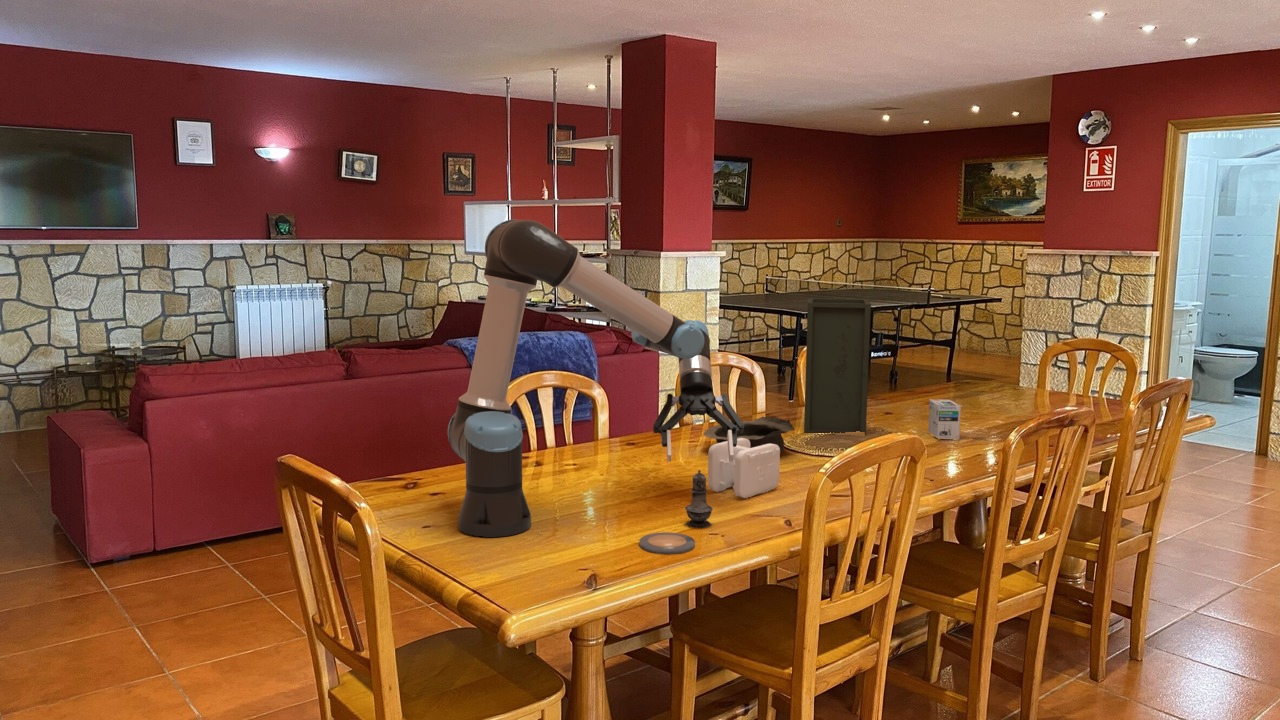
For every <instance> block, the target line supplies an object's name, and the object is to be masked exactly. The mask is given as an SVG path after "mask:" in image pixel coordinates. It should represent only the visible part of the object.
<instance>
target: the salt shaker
mask: <svg viewBox="0 0 1280 720" xmlns="http://www.w3.org/2000/svg"><path fill="white" fill-rule="evenodd" d="M708 491H709V490H708V489H707V476H706V475H705V474H704V473H702V470H700V469H698V471H697V473H695V474H694V475H692V488H691V489H690V492H691V502H690V504H689V505H686V506H685V507H684V509H685V510H686V515H687V517H688V518H689V519H690V520H688V521H687V522H686V523H685V525H686V526H687V527H689V528H692V529H706V528H710V527H711V526H712V523H711V522H710V521H708V519H709V518H710V517H711V515H712V511H713V510H714V508H713V507H712V506H711V505H708V502H707V493H708ZM709 526H710V527H709Z"/></svg>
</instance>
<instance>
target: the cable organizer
mask: <svg viewBox="0 0 1280 720" xmlns="http://www.w3.org/2000/svg"><path fill="white" fill-rule="evenodd" d="M733 453H734V456H733V461H729V454H728V441H726V442H721V443H717V442H716V443H714V444H711V446H710V447H709V449H708V451H707V461H708V462H707V486H708V488H709V490H712V491H714V492H715V493H719V491H720V492H722V491H725V490H726V489H727V488H731V487H732V489H733V492H734V495H736V496H737V497H740V498H741V499H744V500H746V499H749V498H748V497H750V498H752V497H751V496H753V497H754V496H755V495H759V494H762V493H763V494H766V493H769V492H771V490H774V489H776V488H777V487H778V485H779V481H780V458H781V457H780V456H781V453H780V448H779V446H778V445H775V444H770V443H769V444H765V445H761V446H757V447H753V448H750V441H749V440H748V439H745V438H738V439H737V446H736V447H733ZM768 491H769V492H768ZM765 492H766V493H765ZM745 498H746V499H745Z"/></svg>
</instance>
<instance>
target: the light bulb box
mask: <svg viewBox="0 0 1280 720" xmlns="http://www.w3.org/2000/svg"><path fill="white" fill-rule="evenodd" d="M928 403H929V404H928V405H929V406H928V407H929V409H928V429H927V431H929V432H930V433H931V434H933V435H934V436H935V437H936V438H942V439H959V440H960V436H961V435H960V434H961V433H960V432H961V430H960V428H961V411H962V410H961V409H962V406H961V405H960V404H958V403H956V402H955V401H953V400H951V399H940V398H939V399H935V398H934V399H933V398H929V402H928Z"/></svg>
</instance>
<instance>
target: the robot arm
mask: <svg viewBox="0 0 1280 720" xmlns="http://www.w3.org/2000/svg"><path fill="white" fill-rule="evenodd" d="M484 242H485V243H484V254H485V257H486V263H485V267H484V272H483V277H484V279H485V280H486V282H487V284H488V287H487V292H486V298H485V302H484V307H483V312H482V316H481V317H482V319H481V322H480V326H479V332H478V338H477V341H476V342H477V343H476V347H475V353H474V357H473V362H472V367H471V372H470V377H469V382H468V387H467V391H466V392H465V393H463V394H462V395H461V396H459V397H458V401H457V406H456V411H455V412H454V414H453V415H452V417H451V418H450V419H449V423H448V426H447V437H448V439H447V440H448V443H449V445H450V448H451V449H452V451H454V453H455V454H456V455H457V456H458V457H459V458H461V459H462V460H463V461H464V462H465V487H466V488H465V495H464V497H463V501H462V504H461V507H460V510H459V514H458V519H457V522H458V524H457V526H458V531H460V532H461V531H462V532H461V533H463V532H464V533H463V534H465V533H466V534H465V535H468V534H469V536H472V535H474V536H473V537H479V536H483V537H482V538H498V537H499V538H500V537H507V536H509V537H510V536H514V535H518V534H521V533H523V532H526V531H527V530H529V529H530V528H531V527H532V514H531V511H530V508H529V504H528V502H527V498H526V496H525V493H524V490H523V439H524V435H523V428H522V423H521V421H520V419H519V418H518V417H517V416H515V414H512V413H511V411H512V407H511V405H510V404H509V402H508V401H507V395H508V390H509V385H510V381H511V376H512V371H513V368H514V367H513V366H514V361H515V356H516V351H517V347H518V341H519V338H520V331H521V326H522V323H523V322H522V321H523V317H524V312H525V308H526V303H527V299H528V298H527V297H528V294H529V292H531V291H533V290H534V289H535V288H536V287H537V283H538V280H539V281H541V282H542V283H545V284H547V285H549V286H551V287H552V288H554V289H556V288H560V287H561V288H563V289H564V290H566V291H568V292H570V293H571V294H573V295H574V296H576V297H577V298H579V299H581V300H583V301H584V302H586V303H588V304H589V305H591V306H592V307H594V308H596V309H598V310H599V311H601V312H602V313H604V314H606V315H608V316H609V317H611V318H612V319H614V320H616V321H617V322H618V323H621V324H622V325H624V326H625V327H628V328H629V329H630V330H631V334H630V335H631V339H632V341H633V342H634V343H636V344H638V345H641V346H642V347H646V348H649V349H652V350H655V351H658V352H661V353H664V354H668V355H670V356H673V357H676V358H677V359H678V373H679V375H678V376H679V396H676V395H675V396H674V395H673V394H672V393H668V394H667V397H666V402H665V404H664V406H663V408H662V409H661V410H660V412H659V414H658V416H657V418H656V420H655V421H654V423H653V428H652V431H653V433H654V434H660V436H661V446H662V448H666V457H667V458H666V460H667V462H671V463H672V442H671V441H672V440H671V439H672V438H671V434H672V433H671V431H672V430H673V429H674V428H675V427H676V425H677V424H678V423H680V421H682V419H684V418H685V417H686V416H687V415H690V416H697V415H698V416H705V415H707V416H708V417H709V418H710V419H711V418H712V419H713V420H714V421H715V422H716V423H717V425H721V426H722V427H723V428H724V429H725V430H726V431H727V432H728V434H727V441H728V454H729V461H733V456H734V453H733V447H736V446H737V433H743V430H744V424H743V422H742V421H743V420H741V418H740V416H739V415H738V413H737V412H736V411H735V409H734V408H733V406H732V404H731V403H730V402H729V398H728V394H726V393H722V394H721V396H716V395H714V388H713V378H712V377H713V374H712V372H713V371H712V363H711V362H712V361H711V339H710V333H709V329H708V326H707V325H706V324H705V323H704V322H703V321H702V320H699V319H695V320H692V319H688V320H684V321H683V319H681V318H679V317H677V316H676V315H674V314H672V313H671V312H670V311H669V310H666V309H665V308H663V307H661V306H660V305H658V304H657V303H655V302H654V301H652V300H650V299H649V298H647V297H646V296H644V295H642V294H641V293H639V291H636V290H635V289H633V288H632V287H629V286H628V285H627V284H625V283H623V282H622V281H621V280H619V279H618V278H616V277H614V276H613V275H611V274H610V273H607V272H606V271H605V270H603V269H601V268H600V267H599V266H597V265H595V264H593V262H590V261H589V260H587V259H586V258H585V257H583V256H582V255H580V254H581V253H580V250H579V248H578V247H576V246H574V245H573V244H571V243H570V242H569V241H567V240H566V239H564V238H563V237H562V236H560V235H559V234H558V233H556V232H554V231H553V230H552V229H550V228H549V227H547V226H546V225H544V224H543V223H541V222H539V221H536V220H532V219H515V218H514V219H507V220H504V221H502V222H500V223H499V224H497V225H495V226H494V227H492V229H491V230H490V231H489V232H488V234H487V236H486V238H485V241H484ZM677 403H678V404H679V405H680V406H679V408H678V409H677V410H676V412H674V414H673V415H671V417H669V419H667V417H668V416H669V414H670V412H671V411H672V408H673V407H674V406H676V404H677ZM715 404H718V405H719V407H722V410H723V413H725V414H726V415H724V414H723V413H722V412H721V411H720V410H719V409H718V408H717V406H716V405H715ZM726 416H727V417H726ZM666 420H667V421H666Z"/></svg>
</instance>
